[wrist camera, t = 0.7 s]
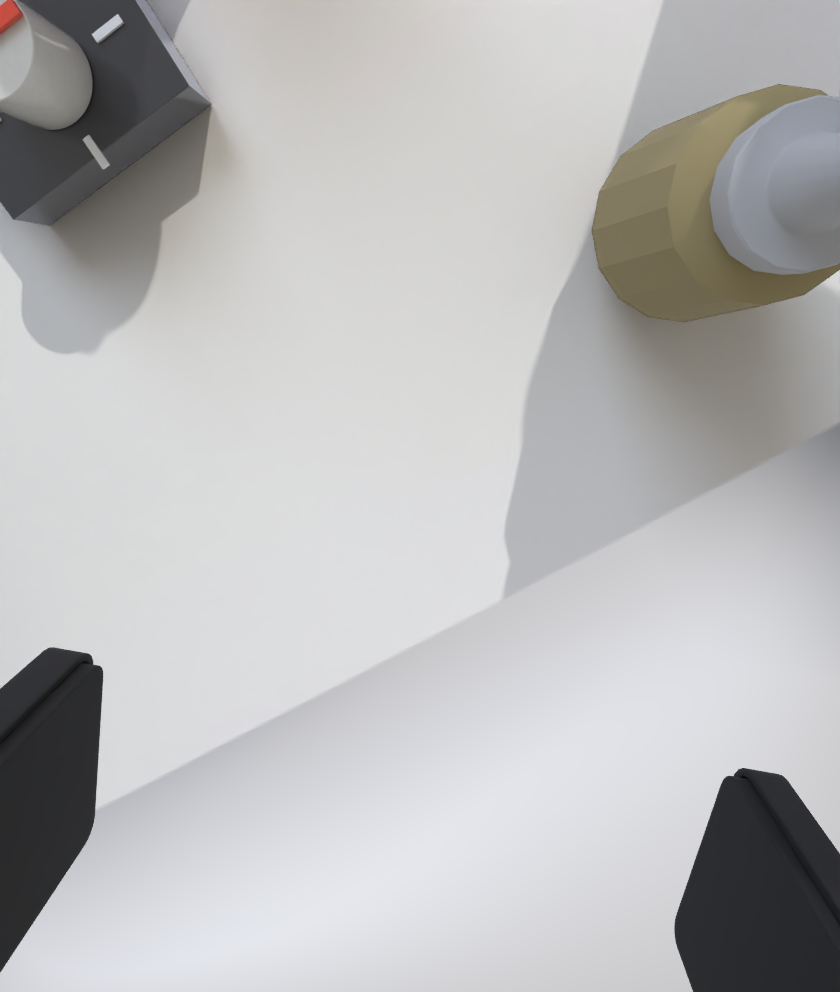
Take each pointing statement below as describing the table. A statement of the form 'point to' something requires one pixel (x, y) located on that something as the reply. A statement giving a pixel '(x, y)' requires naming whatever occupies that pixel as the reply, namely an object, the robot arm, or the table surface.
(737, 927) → the robot arm
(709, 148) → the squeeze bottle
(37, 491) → the table surface
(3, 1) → the hob knob
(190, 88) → the hot plate
